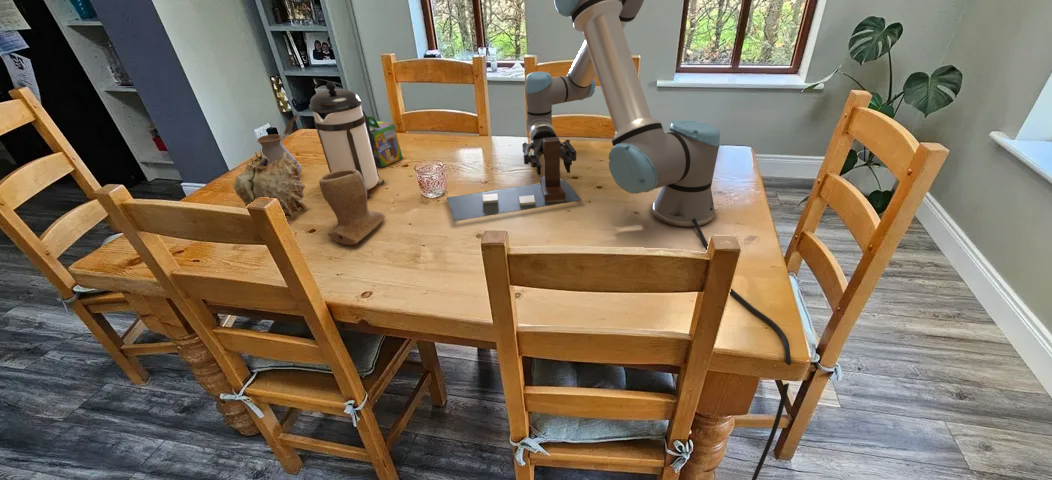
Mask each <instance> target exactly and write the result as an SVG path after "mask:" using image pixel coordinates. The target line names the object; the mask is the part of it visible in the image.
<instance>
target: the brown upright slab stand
mask: <svg viewBox="0 0 1052 480" xmlns="http://www.w3.org/2000/svg"><path fill="white" fill-rule="evenodd" d="M559 140H560V138H559V136H557V137H549V138H543V154H542V156H543V157H542V158H543V160H542V161H543V175H539V183H540V186H541V190H542V194H543V198H544V201H545V203H554V202H565V191H564V188H563V185H562V182H561V180H562V179H561V158H560V142H561V140H560V141H559Z"/></svg>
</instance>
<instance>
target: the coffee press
mask: <svg viewBox="0 0 1052 480" xmlns="http://www.w3.org/2000/svg"><path fill="white" fill-rule="evenodd" d="M336 87H337V85H336V84H335V82H333V81H327V83H326V84H325V88H326V89H327V90H323V91H319V92H317V93H315V94H313V96H312V97H311V98H310V101H309V102H310V104H309V105H308V108H309V110H310V111H311V113H312V116H313V118H314V119H313V122H314V126H315V128H316V132H317V135H318V138H319V141H320V145H321V148H322V151H323V155H324V159H325V161H326V165H327V168H328V171H329V173H331V172H335V171H339V170H345V169H355V170H357V171H359V172H360V173H361V175H362V177H363V180H364V182H365V185H366V190H367V199H369V198H370V194H369V190H371V189H373V188H374V187H375V186H377V184H378V185H381V186H382V185H384V184H385V180H384V179H383V178H381V177H380V175H379V171H378V167H377V166H376V163H375V159H374V145H373V140H372V136H371V132H370V128H369V124H368V120H367V117H366V116H367V114H366V112H365V111H364V109H363V108H362V104H363V103H362V102H363V101H362V99H361V98H360V97H359V96H358V94H357V93H355V92H354V91H352V90H349V89H345V88H344V89H343V88H336ZM379 179H380V180H381V182H379Z"/></svg>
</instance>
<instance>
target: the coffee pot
mask: <svg viewBox="0 0 1052 480" xmlns="http://www.w3.org/2000/svg"><path fill="white" fill-rule="evenodd" d="M298 118H300V119H298ZM301 120H302V117H301V116H300V115H298V114H294V116H293V117H292V118H290V122H289V123H287V125H286V128H285V129H284V132H283V133H282V135H281V134H277V133H276V134H275V133H274V134H272V133H271V134H267V135H263V136H260V137H258V138H257V139H256V141H257V143H259V144H260V146H261V150H262V153H263V156H266V157H267V158H268V160H269V164H271V163H272V162H274V161H275V160H278V159H280V157H281V156H282V154H283V153H284V152H288V153H289V157H290V159H291V160H292V161H294V160H297V159H296V158H295V157H294V155H293V154H292V153H291V152H290V151H289V150H288V149H287V148H286V147H285V146H284V144H283V142H284V140H285V138H286V137H287V136H288V134H289V132H290V131H291V129H292V128H293V126H294V123H296V121H301ZM297 163H299V164H300V165H299V167H298V170H299V174H300V175H301V173H302V170H303V167H302V164H301V163H300V162H299V161H298V160H297ZM269 164H268V165H269Z"/></svg>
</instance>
